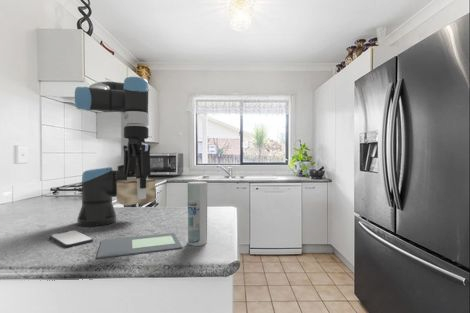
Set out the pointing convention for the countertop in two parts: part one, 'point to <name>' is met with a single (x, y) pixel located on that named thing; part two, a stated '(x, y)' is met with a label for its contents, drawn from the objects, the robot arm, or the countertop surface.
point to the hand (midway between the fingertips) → (136, 197)
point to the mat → (138, 245)
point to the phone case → (71, 238)
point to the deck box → (134, 192)
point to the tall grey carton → (197, 213)
